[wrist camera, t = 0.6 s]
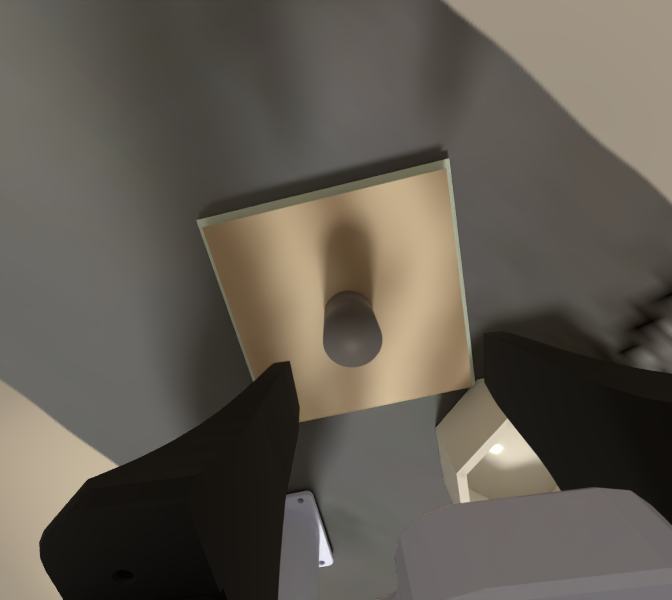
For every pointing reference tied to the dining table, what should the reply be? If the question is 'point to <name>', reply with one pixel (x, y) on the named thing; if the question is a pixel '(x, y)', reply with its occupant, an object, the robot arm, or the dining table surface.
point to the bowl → (487, 452)
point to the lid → (351, 294)
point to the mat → (332, 192)
